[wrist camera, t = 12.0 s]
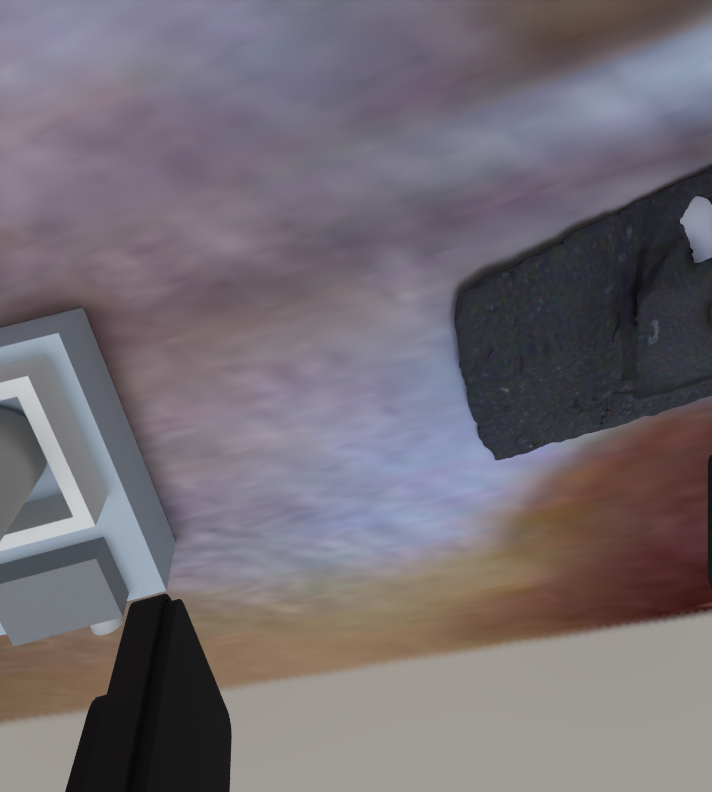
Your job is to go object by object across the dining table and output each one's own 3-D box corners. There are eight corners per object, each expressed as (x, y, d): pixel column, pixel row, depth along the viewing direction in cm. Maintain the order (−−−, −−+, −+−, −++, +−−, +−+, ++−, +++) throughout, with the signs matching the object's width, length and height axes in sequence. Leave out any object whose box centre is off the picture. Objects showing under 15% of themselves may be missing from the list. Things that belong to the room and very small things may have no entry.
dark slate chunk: (425, 253, 38) (447, 269, 34) (776, 139, 39) (843, 140, 34) (479, 470, 44) (504, 507, 40) (782, 368, 45) (839, 394, 41)
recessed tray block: (-99, 352, 36) (-190, 409, 28) (82, 307, 36) (39, 352, 29) (41, 617, 43) (-3, 717, 36) (189, 577, 44) (177, 667, 36)
